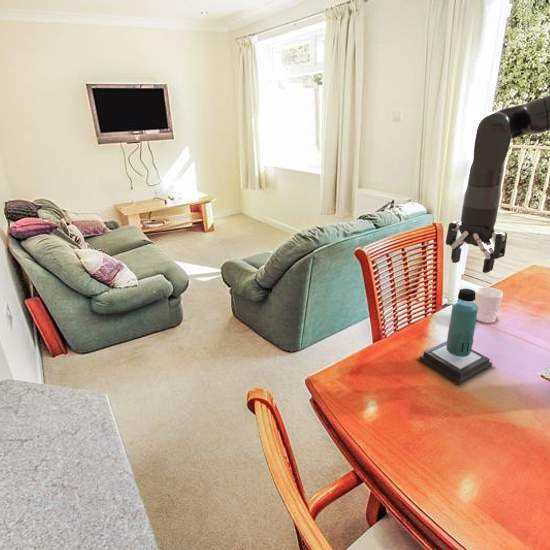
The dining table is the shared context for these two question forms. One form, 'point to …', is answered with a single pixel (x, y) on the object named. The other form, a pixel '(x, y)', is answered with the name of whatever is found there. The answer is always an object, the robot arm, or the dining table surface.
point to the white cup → (488, 303)
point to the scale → (452, 371)
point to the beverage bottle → (462, 324)
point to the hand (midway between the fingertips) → (470, 266)
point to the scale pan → (456, 358)
